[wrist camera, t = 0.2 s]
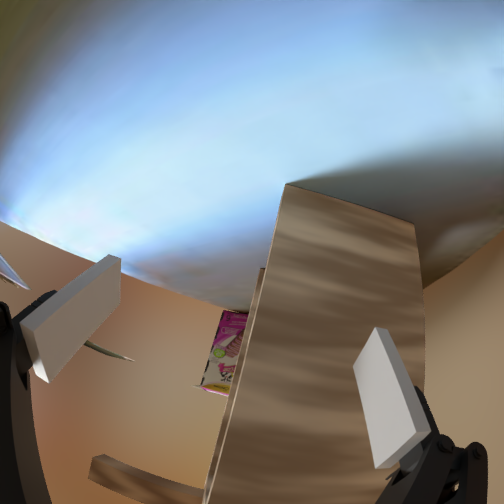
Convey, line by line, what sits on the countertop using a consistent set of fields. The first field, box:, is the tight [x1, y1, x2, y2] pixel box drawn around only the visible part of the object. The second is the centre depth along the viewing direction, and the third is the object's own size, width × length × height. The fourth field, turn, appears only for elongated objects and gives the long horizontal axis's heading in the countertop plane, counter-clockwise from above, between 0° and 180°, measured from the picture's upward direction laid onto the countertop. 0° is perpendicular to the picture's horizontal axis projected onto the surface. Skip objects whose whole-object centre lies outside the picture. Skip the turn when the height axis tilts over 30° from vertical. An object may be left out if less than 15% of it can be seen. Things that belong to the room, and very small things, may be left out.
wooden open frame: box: [202, 184, 425, 504], centre depth 25 cm, size 18×14×30 cm
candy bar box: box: [200, 310, 248, 396], centre depth 51 cm, size 11×5×16 cm, turn 96°
